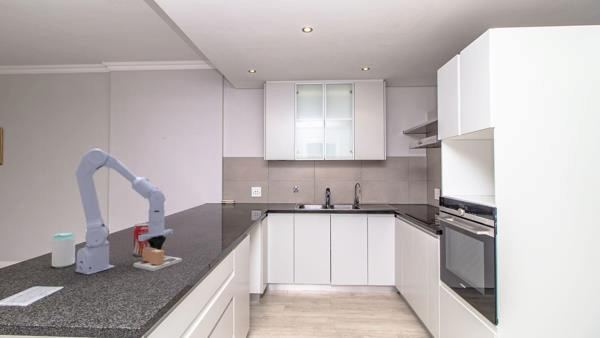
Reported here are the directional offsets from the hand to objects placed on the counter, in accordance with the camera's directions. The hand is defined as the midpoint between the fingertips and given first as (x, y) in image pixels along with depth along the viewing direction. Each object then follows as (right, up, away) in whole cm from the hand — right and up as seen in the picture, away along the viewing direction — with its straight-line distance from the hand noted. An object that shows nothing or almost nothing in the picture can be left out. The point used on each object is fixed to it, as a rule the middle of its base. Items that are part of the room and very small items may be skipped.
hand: (156, 255), depth 122 cm
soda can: (-11, -3, +12) cm, 16 cm away
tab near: (+3, -1, -6) cm, 7 cm away
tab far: (-1, -1, -3) cm, 3 cm away
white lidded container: (-33, -3, -4) cm, 34 cm away
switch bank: (+2, -3, -2) cm, 4 cm away
